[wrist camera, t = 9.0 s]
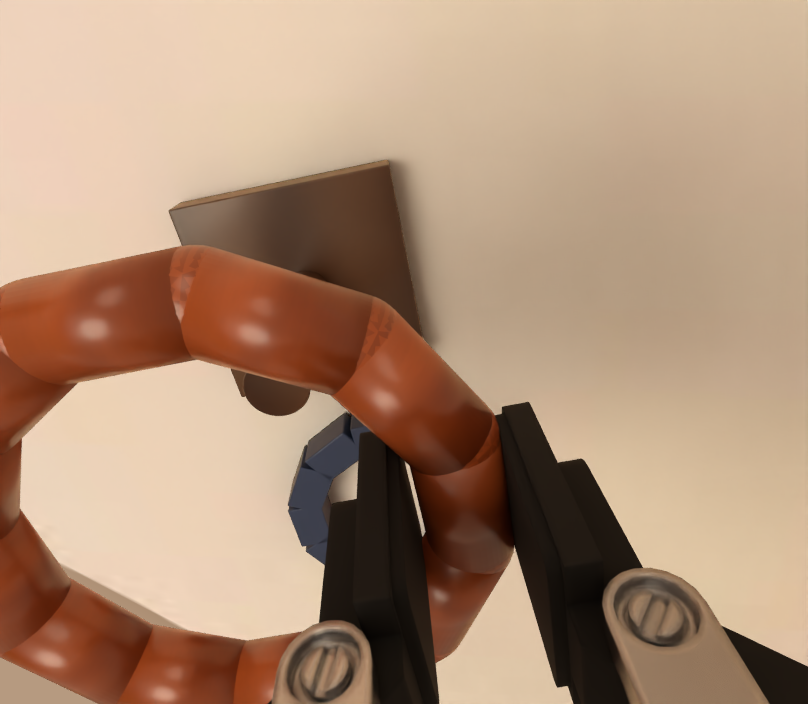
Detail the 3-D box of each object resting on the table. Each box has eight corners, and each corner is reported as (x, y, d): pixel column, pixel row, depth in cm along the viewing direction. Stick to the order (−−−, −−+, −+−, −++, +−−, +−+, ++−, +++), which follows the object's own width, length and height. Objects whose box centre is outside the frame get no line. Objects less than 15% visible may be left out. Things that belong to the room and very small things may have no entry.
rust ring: (460, 178, 9) (478, 201, 7) (521, 625, 14) (540, 696, 12) (-196, 313, 9) (-316, 363, 8) (102, 693, 15) (68, 769, 13)
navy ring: (487, 383, 27) (494, 403, 26) (509, 543, 33) (516, 567, 31) (268, 424, 28) (261, 445, 26) (325, 574, 33) (322, 599, 32)
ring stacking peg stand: (388, 159, 22) (394, 210, 14) (425, 348, 26) (446, 477, 18) (179, 202, 23) (61, 278, 14) (248, 381, 27) (188, 522, 18)
